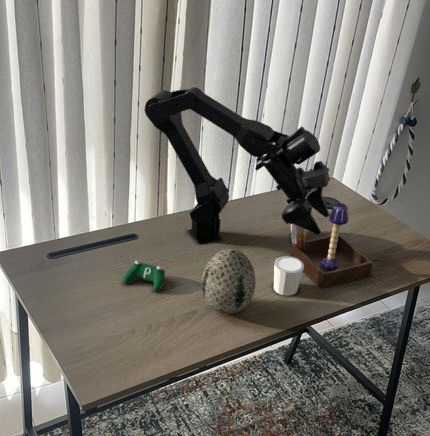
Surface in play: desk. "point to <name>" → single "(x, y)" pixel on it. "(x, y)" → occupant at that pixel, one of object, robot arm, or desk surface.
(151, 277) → the gaming controller
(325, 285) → the wooden tray
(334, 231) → the toy lamp
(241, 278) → the decorative egg
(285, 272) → the white short cylinder
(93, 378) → the desk surface
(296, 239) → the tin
